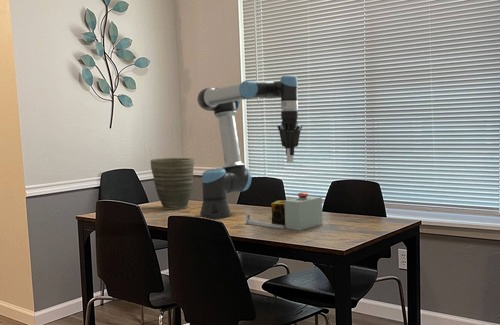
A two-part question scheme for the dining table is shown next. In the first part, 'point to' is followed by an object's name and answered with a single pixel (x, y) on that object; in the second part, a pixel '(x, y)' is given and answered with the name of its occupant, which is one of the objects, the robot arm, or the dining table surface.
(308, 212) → the gauge cabinet
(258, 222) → the rail track
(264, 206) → the dining table surface
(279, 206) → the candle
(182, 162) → the vase
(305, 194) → the plunger
